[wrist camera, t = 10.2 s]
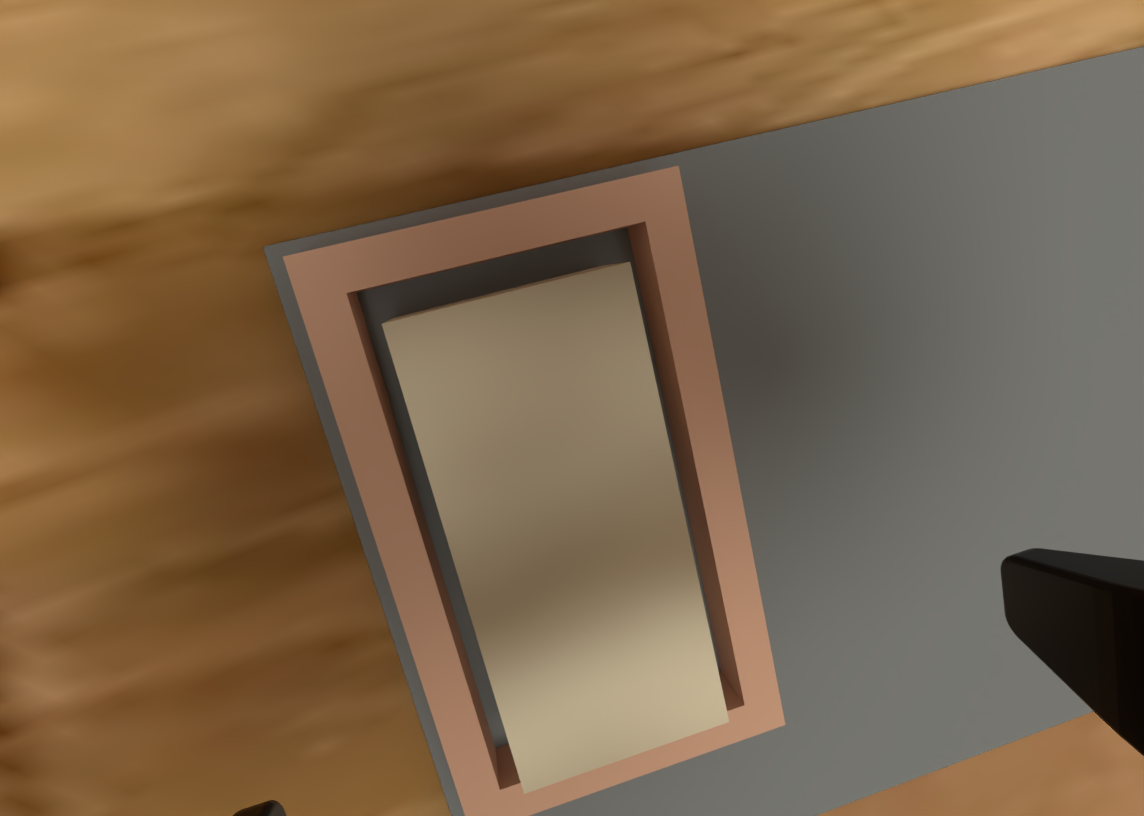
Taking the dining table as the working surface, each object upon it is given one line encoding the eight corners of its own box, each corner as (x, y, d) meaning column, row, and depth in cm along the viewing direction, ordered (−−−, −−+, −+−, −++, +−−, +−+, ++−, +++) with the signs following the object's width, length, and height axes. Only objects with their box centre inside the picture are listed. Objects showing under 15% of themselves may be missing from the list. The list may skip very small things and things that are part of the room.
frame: (759, 690, 17) (785, 725, 16) (469, 791, 16) (471, 836, 15) (657, 176, 15) (678, 165, 13) (299, 260, 14) (282, 256, 12)
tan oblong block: (393, 317, 14) (381, 323, 12) (599, 265, 15) (630, 261, 12) (512, 715, 16) (524, 793, 14) (687, 656, 17) (729, 722, 14)
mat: (1181, 665, 21) (1195, 673, 20) (490, 923, 18) (491, 937, 17) (1158, 45, 17) (1175, 39, 16) (268, 247, 14) (262, 246, 13)
